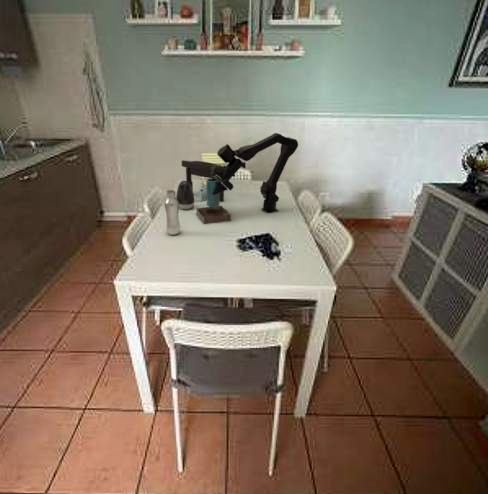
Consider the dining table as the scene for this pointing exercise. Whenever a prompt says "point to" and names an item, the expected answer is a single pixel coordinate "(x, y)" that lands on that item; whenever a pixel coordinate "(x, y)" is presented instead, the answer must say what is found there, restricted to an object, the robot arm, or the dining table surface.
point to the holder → (213, 214)
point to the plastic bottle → (172, 213)
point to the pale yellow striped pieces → (212, 161)
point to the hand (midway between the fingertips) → (210, 192)
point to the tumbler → (212, 199)
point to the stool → (203, 171)
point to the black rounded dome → (185, 195)
